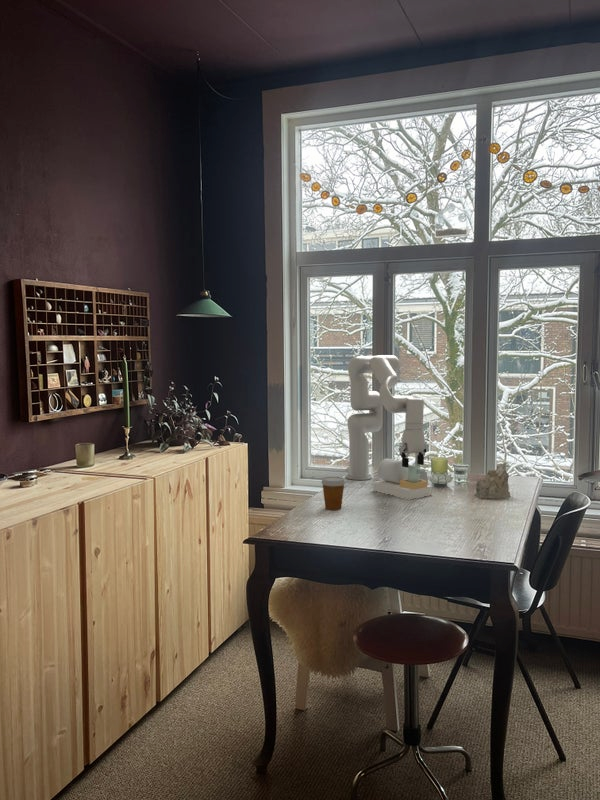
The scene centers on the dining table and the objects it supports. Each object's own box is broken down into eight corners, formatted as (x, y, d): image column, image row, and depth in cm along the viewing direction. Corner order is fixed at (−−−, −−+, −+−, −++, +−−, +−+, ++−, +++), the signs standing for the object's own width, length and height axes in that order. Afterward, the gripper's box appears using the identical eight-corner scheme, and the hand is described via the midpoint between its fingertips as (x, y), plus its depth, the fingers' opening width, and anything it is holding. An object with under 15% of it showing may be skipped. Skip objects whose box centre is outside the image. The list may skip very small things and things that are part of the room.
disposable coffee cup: (340, 512, 259) (340, 482, 258) (317, 509, 263) (317, 479, 262) (348, 507, 267) (348, 477, 266) (326, 504, 271) (326, 475, 270)
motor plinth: (373, 490, 297) (373, 459, 296) (394, 486, 306) (395, 456, 304) (410, 499, 280) (410, 466, 279) (432, 495, 288) (432, 463, 287)
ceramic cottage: (502, 490, 298) (501, 457, 296) (515, 499, 282) (514, 465, 280) (467, 492, 298) (466, 459, 296) (479, 502, 281) (478, 467, 280)
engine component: (426, 481, 317) (405, 481, 318) (427, 439, 316) (405, 438, 316) (429, 486, 306) (407, 486, 307) (430, 442, 305) (408, 442, 305)
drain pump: (405, 486, 288) (405, 465, 287) (412, 484, 291) (413, 464, 290) (418, 489, 282) (418, 468, 281) (426, 487, 285) (426, 466, 284)
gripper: (420, 423, 293) (419, 462, 295) (393, 427, 283) (392, 466, 285) (434, 425, 288) (432, 464, 289) (406, 429, 277) (405, 469, 279)
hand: (412, 465), depth 287 cm, fingers open, 9 cm apart
